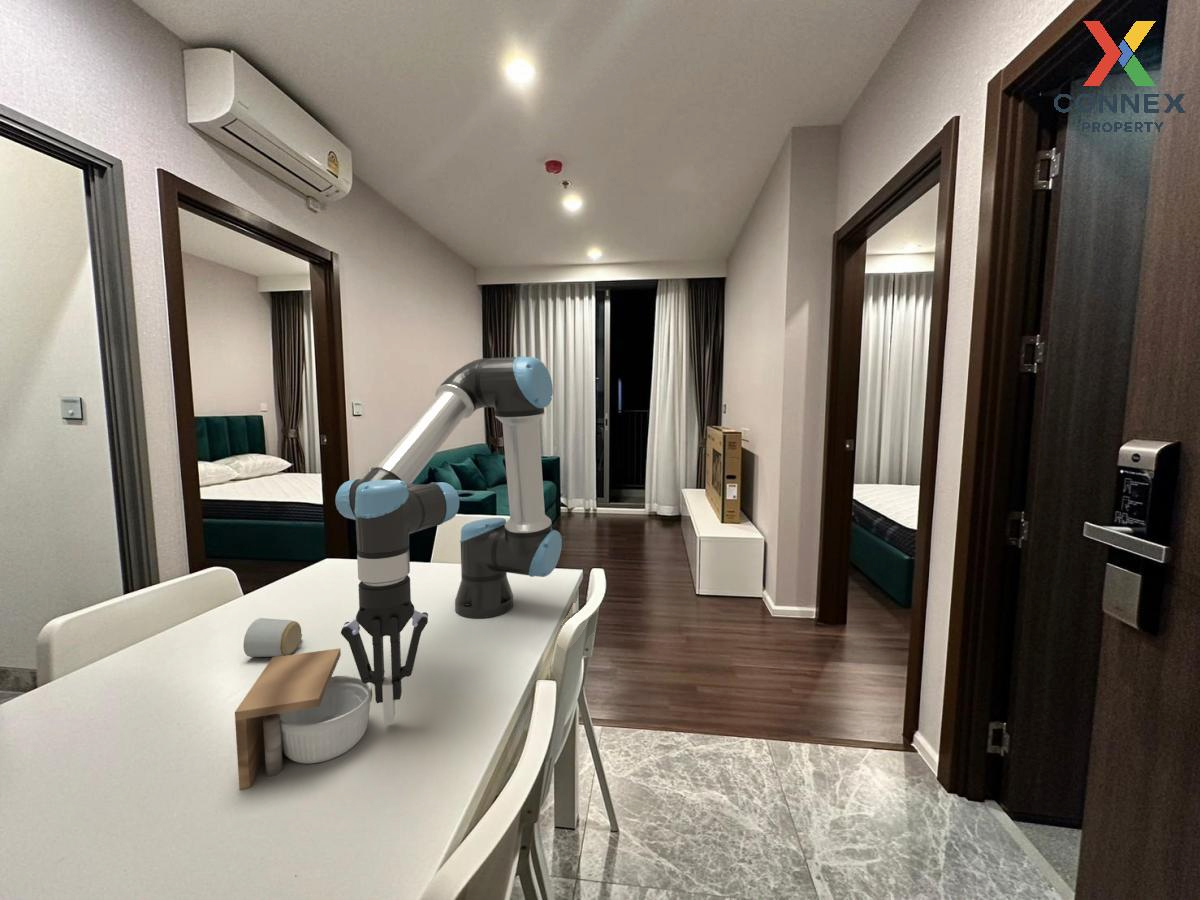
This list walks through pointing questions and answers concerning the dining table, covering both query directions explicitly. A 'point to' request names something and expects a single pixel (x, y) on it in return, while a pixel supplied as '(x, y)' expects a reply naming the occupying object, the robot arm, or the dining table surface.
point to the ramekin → (328, 722)
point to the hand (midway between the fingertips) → (389, 718)
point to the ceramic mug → (272, 638)
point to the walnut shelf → (278, 708)
